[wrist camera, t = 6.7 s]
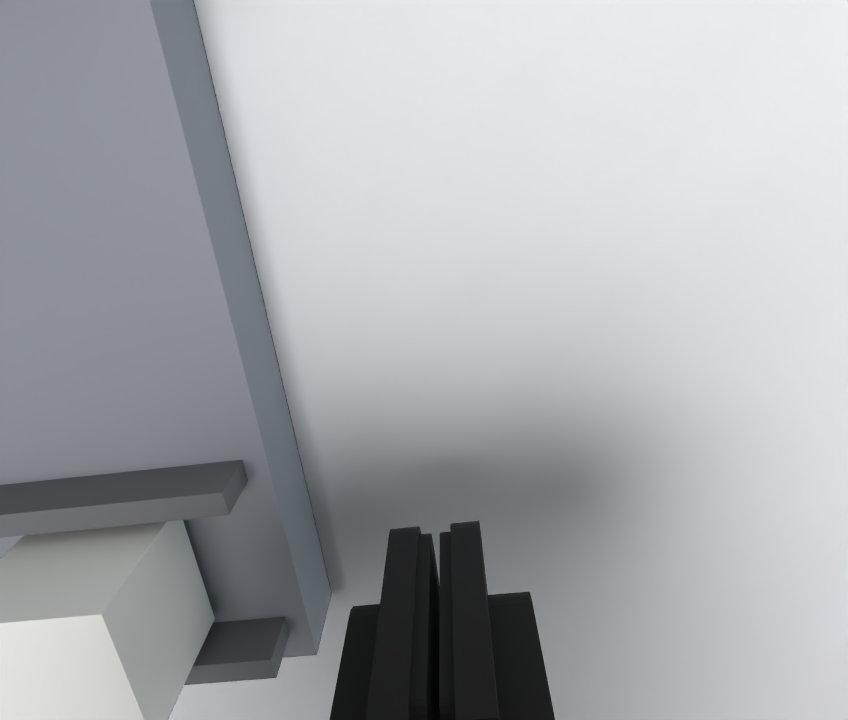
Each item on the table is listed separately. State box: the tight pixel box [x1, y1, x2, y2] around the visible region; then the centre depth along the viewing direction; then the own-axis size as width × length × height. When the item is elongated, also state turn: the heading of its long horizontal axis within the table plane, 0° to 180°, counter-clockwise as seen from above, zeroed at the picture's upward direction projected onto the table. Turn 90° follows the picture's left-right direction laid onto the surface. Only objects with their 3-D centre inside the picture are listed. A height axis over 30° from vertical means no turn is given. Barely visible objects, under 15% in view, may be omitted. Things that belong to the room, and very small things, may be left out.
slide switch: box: [0, 520, 215, 720], centre depth 12 cm, size 3×3×3 cm
